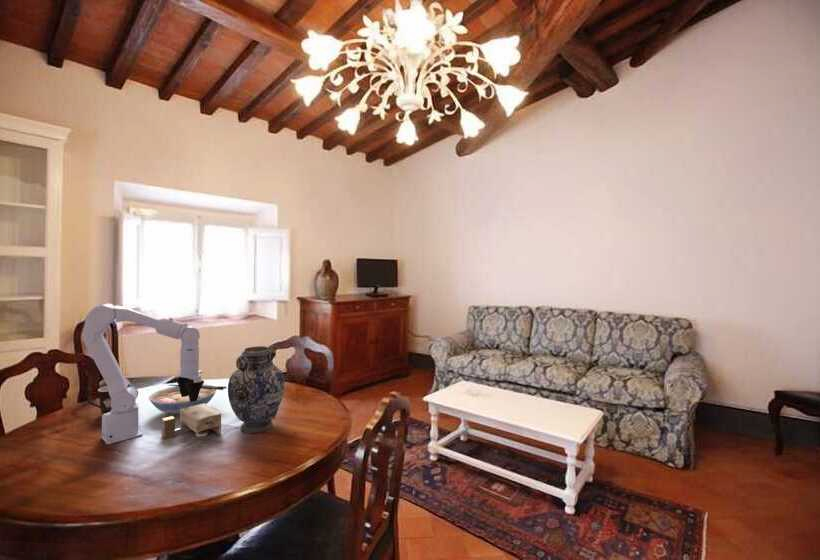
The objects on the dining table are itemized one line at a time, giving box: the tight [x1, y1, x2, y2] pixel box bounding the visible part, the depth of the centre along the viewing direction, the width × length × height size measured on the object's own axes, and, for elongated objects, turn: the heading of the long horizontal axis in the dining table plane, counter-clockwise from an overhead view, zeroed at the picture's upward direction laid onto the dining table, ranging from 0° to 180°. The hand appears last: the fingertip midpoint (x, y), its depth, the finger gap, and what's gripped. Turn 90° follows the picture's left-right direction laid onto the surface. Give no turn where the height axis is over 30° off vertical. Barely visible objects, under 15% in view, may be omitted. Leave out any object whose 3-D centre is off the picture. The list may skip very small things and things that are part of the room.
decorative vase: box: [227, 344, 285, 434], centre depth 134 cm, size 21×19×28 cm
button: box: [194, 429, 210, 438], centre depth 128 cm, size 4×4×1 cm
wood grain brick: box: [161, 415, 193, 440], centre depth 129 cm, size 12×3×6 cm, turn 139°
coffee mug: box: [86, 385, 112, 416], centre depth 144 cm, size 12×9×10 cm
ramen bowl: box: [148, 383, 227, 416], centre depth 148 cm, size 25×23×8 cm
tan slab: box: [179, 403, 222, 435], centre depth 130 cm, size 8×15×7 cm, turn 49°
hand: (189, 398), depth 134 cm, fingers open, 7 cm apart
